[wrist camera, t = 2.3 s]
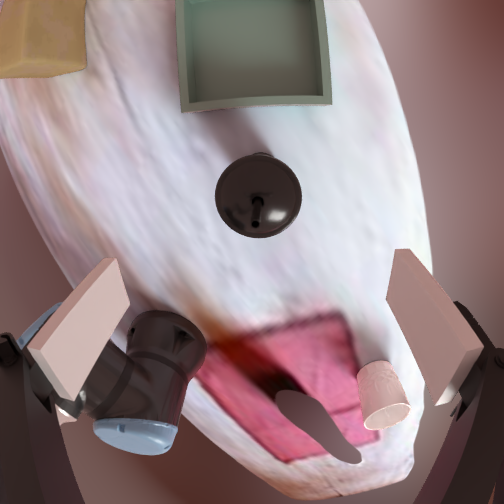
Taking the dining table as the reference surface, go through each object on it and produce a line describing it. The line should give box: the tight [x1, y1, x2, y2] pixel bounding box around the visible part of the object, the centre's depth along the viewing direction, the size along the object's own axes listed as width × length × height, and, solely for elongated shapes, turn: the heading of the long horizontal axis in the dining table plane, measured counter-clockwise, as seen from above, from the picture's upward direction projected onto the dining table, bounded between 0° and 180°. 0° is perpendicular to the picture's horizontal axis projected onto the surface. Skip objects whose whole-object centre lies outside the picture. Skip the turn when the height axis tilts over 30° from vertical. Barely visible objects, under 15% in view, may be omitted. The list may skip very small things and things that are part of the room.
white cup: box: [357, 360, 411, 430], centre depth 49 cm, size 10×10×12 cm
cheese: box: [0, 0, 87, 79], centre depth 20 cm, size 22×10×15 cm, turn 174°
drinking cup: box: [215, 153, 302, 238], centre depth 29 cm, size 8×8×20 cm
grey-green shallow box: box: [175, 0, 332, 113], centre depth 28 cm, size 17×17×5 cm
